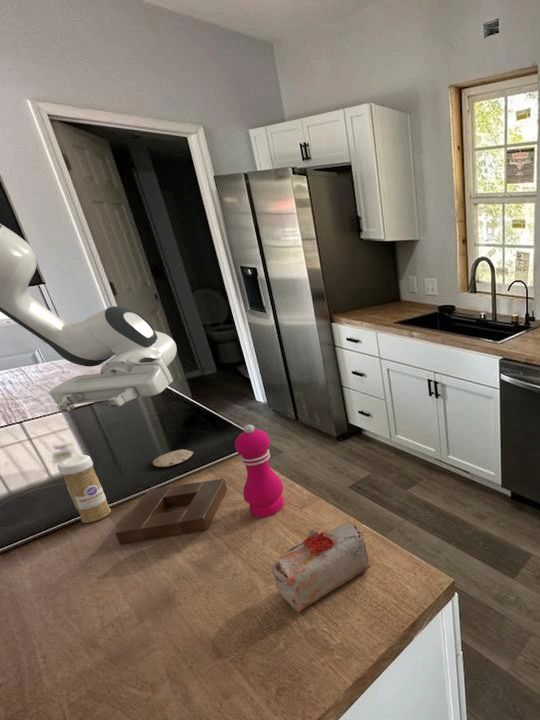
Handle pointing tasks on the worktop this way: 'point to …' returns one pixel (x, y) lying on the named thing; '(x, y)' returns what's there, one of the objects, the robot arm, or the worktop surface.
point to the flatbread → (172, 458)
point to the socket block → (157, 524)
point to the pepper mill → (259, 473)
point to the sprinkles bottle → (84, 488)
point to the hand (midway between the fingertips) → (88, 406)
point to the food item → (320, 565)
